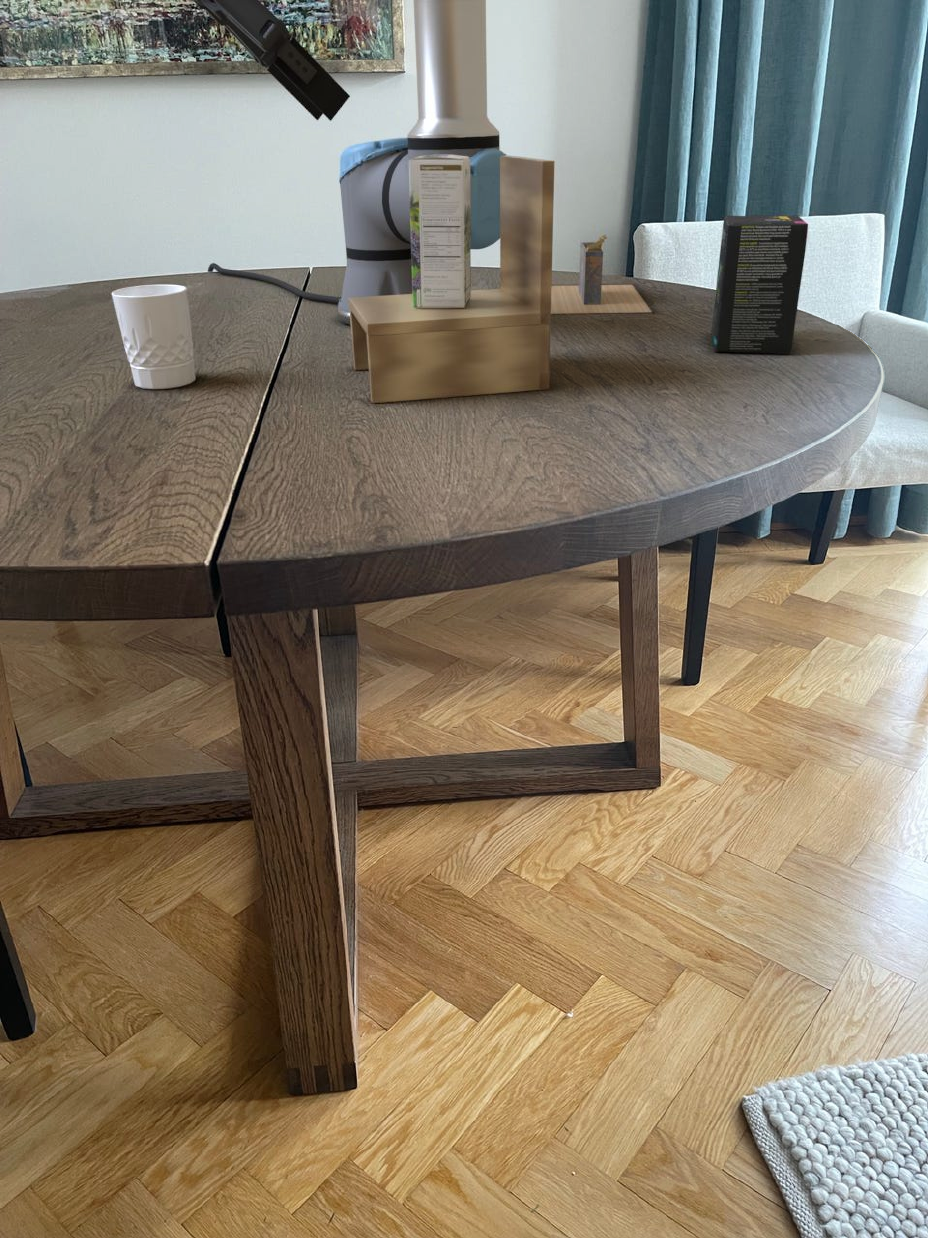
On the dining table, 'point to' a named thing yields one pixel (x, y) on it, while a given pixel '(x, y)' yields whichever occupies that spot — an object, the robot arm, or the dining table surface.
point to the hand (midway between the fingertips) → (332, 109)
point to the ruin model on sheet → (595, 289)
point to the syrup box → (440, 230)
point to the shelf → (472, 312)
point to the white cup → (156, 334)
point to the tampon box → (758, 283)
